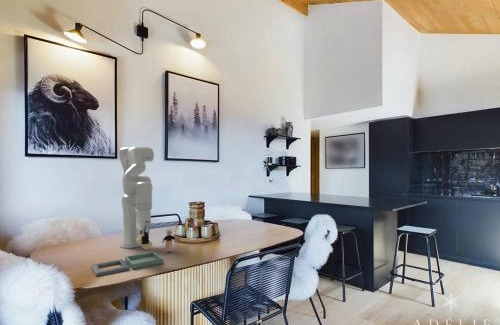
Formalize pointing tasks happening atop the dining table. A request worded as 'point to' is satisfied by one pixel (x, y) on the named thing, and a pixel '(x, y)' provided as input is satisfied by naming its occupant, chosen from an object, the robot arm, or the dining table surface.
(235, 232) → the dining table surface
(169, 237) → the grandmother figurine
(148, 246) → the brass peg
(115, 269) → the collar block
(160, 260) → the tray
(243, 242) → the dining table surface
